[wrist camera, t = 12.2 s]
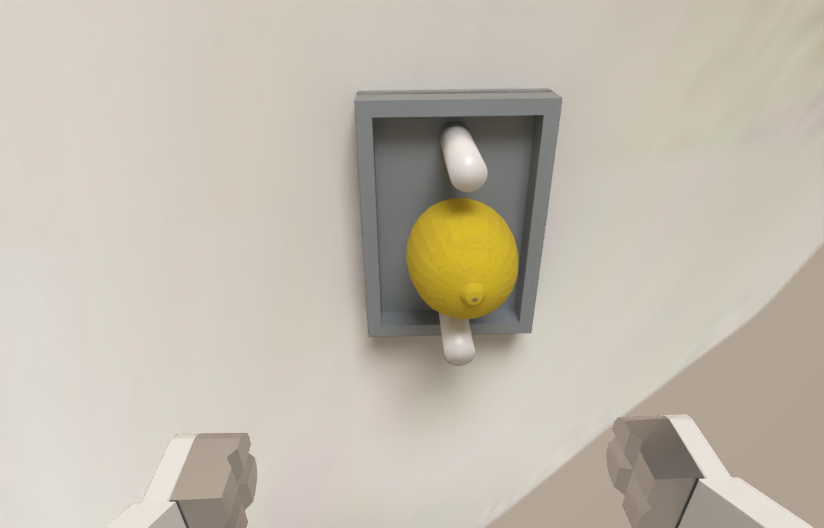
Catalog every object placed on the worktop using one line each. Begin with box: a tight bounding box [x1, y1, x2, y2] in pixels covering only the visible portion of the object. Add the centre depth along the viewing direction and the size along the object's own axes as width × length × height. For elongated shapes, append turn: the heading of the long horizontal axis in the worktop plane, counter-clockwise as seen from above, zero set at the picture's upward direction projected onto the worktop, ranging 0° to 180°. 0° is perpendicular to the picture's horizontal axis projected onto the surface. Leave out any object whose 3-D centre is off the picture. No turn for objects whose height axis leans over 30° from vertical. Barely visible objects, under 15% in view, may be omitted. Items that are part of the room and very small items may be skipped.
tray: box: [354, 89, 562, 366], centre depth 27 cm, size 14×10×7 cm
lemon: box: [406, 198, 518, 319], centre depth 25 cm, size 6×6×8 cm
